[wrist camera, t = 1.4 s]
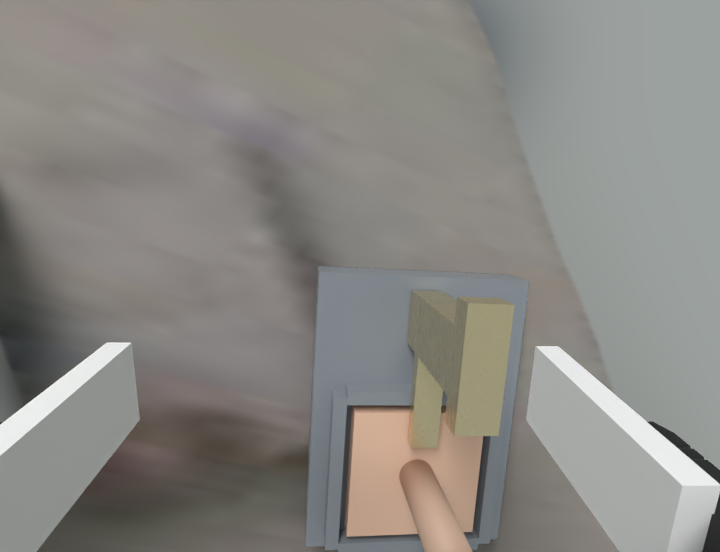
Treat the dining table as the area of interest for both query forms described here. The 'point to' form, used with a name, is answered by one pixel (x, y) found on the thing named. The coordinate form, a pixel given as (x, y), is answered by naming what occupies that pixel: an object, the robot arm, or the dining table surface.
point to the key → (457, 364)
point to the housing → (389, 389)
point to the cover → (410, 480)
